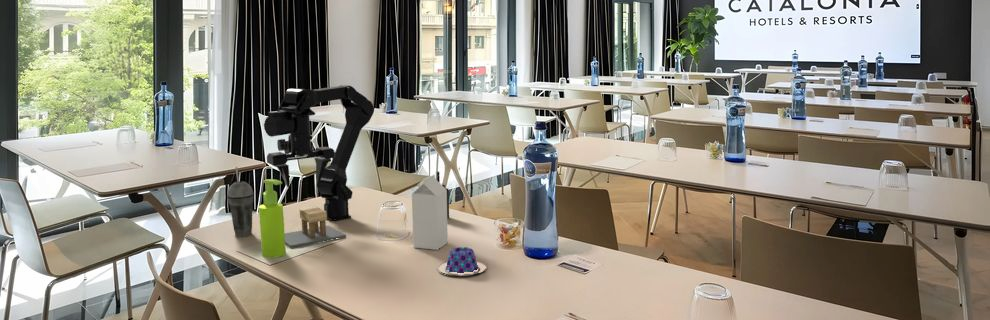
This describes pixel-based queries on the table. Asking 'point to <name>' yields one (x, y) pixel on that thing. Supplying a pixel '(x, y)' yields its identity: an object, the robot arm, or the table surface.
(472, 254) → the pudding
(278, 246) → the soap dispenser
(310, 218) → the oak stool
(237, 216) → the beverage cup
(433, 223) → the milk carton
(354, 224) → the table surface
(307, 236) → the grey rectangular board
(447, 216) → the walkie-talkie
